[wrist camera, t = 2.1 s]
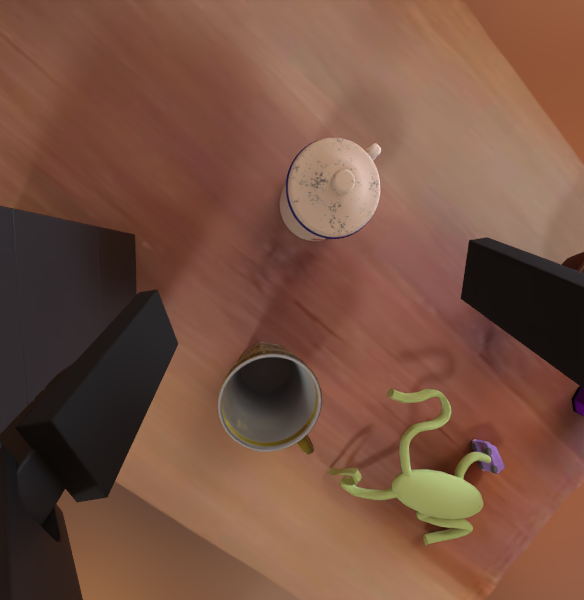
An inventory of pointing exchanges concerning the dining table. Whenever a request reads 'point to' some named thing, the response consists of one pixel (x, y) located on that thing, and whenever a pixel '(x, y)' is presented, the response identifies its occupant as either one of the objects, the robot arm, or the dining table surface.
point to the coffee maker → (55, 298)
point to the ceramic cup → (270, 400)
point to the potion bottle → (578, 401)
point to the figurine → (432, 478)
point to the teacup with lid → (330, 189)
